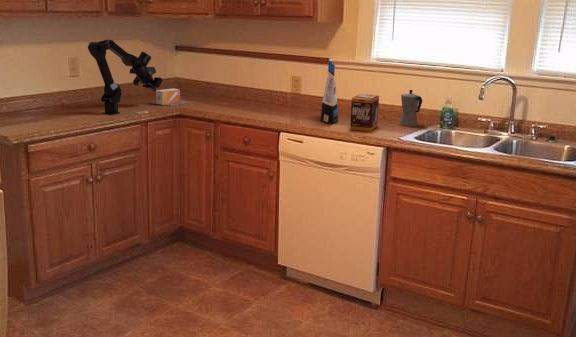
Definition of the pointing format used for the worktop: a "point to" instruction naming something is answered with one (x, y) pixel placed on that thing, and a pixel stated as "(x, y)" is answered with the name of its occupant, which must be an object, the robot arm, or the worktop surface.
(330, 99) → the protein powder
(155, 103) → the mat
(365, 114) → the supplement box
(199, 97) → the worktop surface
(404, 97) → the coffeepot
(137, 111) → the coaster
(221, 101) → the worktop surface
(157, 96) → the small box
